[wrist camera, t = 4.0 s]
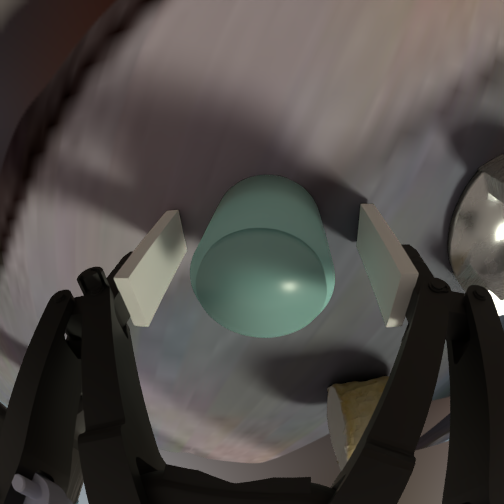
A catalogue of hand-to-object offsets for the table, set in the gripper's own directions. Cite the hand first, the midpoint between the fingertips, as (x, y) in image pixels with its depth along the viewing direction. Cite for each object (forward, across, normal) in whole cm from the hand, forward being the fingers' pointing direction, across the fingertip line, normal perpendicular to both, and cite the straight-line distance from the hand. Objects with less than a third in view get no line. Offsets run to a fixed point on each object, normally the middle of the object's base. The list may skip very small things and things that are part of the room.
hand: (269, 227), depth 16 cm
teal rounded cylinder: (0, 0, 0) cm, 0 cm away
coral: (0, +9, -18) cm, 20 cm away
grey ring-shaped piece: (0, +17, 0) cm, 17 cm away
